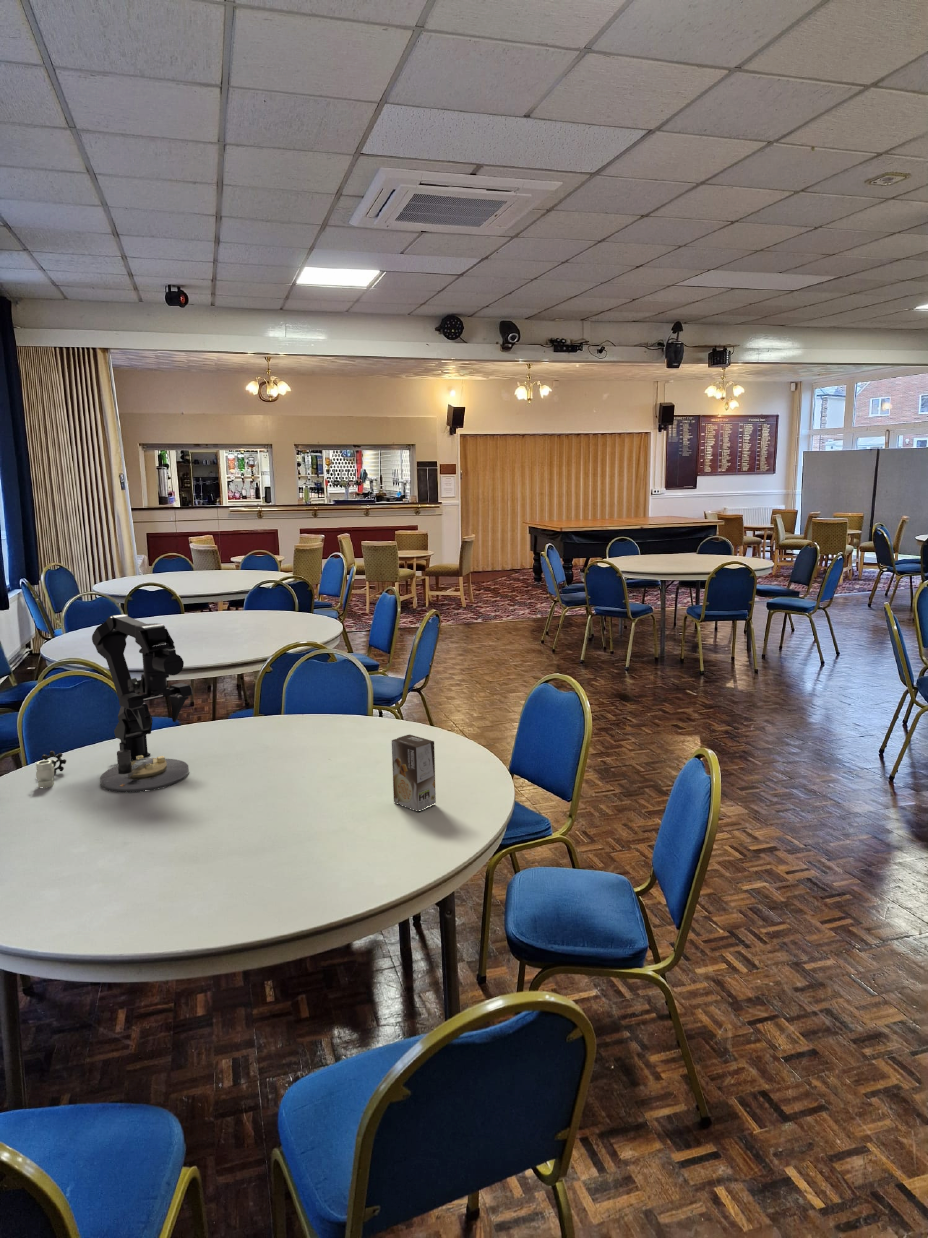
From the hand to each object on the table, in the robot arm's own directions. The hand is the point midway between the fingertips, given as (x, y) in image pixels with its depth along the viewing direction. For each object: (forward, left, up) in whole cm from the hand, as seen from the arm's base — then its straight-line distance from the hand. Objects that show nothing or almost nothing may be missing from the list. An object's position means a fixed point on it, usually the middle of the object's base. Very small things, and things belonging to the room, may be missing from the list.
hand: (158, 725), depth 216 cm
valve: (+24, -14, -12) cm, 31 cm away
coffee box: (-24, +74, -12) cm, 79 cm away
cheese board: (+9, +5, -10) cm, 15 cm away
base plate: (+7, +4, -12) cm, 14 cm away
